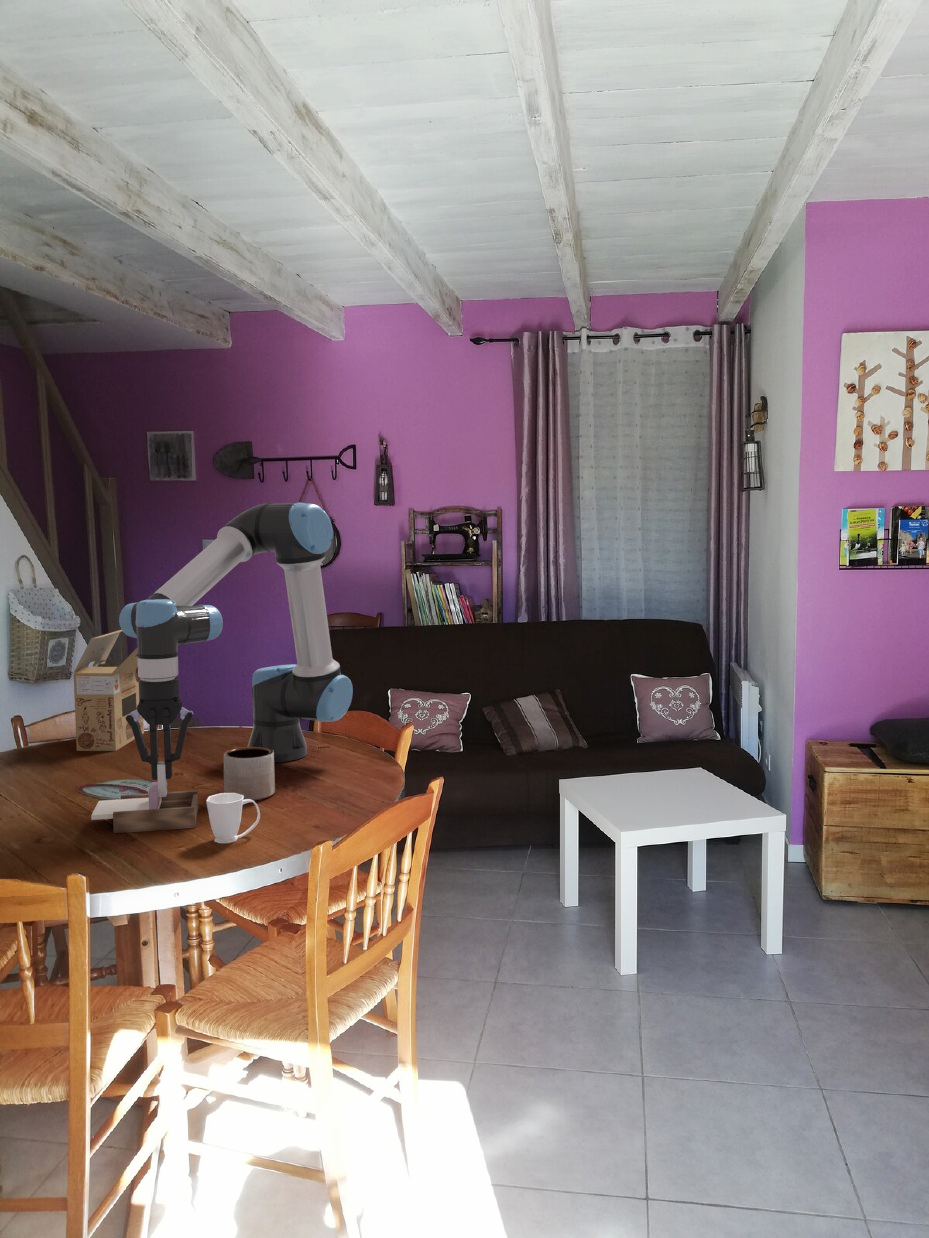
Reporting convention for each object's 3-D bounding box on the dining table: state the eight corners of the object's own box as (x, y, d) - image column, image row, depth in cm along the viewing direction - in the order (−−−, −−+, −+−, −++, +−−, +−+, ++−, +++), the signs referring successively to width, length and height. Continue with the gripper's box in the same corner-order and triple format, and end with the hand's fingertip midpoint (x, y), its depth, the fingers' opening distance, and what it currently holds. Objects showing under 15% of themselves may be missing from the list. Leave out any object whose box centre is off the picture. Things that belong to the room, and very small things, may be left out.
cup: (203, 836, 174) (201, 795, 173) (255, 828, 179) (254, 788, 178) (211, 848, 168) (210, 805, 167) (265, 839, 173) (264, 797, 172)
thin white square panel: (161, 800, 188) (160, 779, 188) (157, 815, 179) (156, 793, 178) (99, 805, 185) (98, 783, 185) (91, 819, 176) (90, 797, 175)
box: (143, 751, 240) (139, 637, 237) (68, 750, 240) (63, 637, 237) (169, 733, 261) (166, 628, 258) (100, 732, 261) (96, 628, 258)
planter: (284, 790, 205) (283, 748, 204) (258, 804, 194) (257, 760, 193) (242, 786, 208) (241, 744, 207) (214, 799, 198) (212, 756, 197)
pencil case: (198, 809, 191) (197, 790, 191) (195, 827, 179) (194, 807, 179) (121, 814, 188) (121, 795, 187) (113, 833, 176) (112, 813, 176)
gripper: (193, 673, 186) (197, 787, 188) (126, 676, 183) (130, 791, 185) (191, 679, 179) (195, 798, 181) (121, 682, 176) (125, 802, 178)
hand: (162, 794), depth 183 cm, fingers closed
